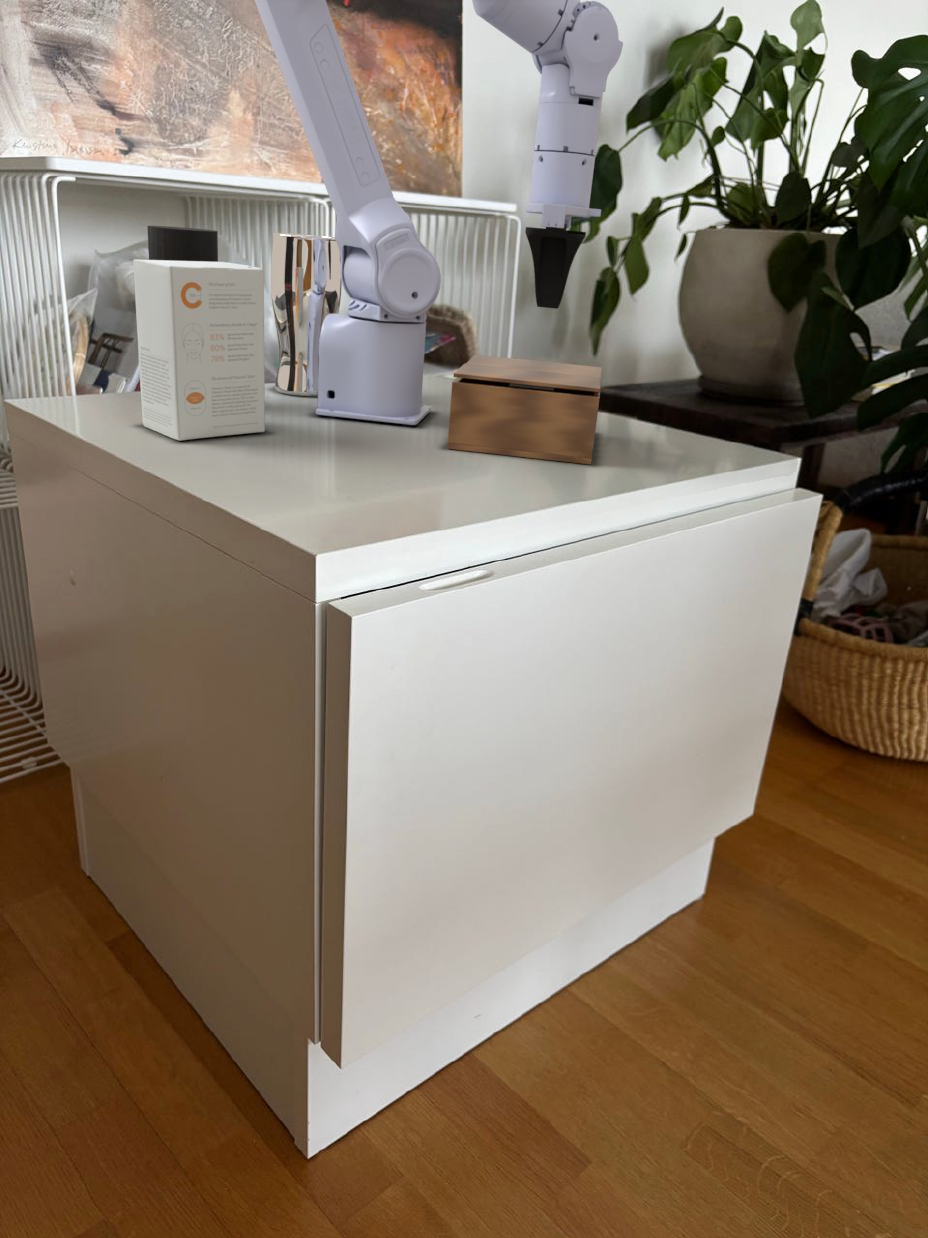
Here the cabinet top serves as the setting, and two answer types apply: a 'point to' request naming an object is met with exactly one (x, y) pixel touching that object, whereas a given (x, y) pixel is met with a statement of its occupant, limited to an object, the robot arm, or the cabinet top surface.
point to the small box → (200, 347)
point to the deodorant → (182, 244)
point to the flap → (536, 365)
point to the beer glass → (302, 305)
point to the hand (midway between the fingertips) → (547, 307)
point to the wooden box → (524, 413)
